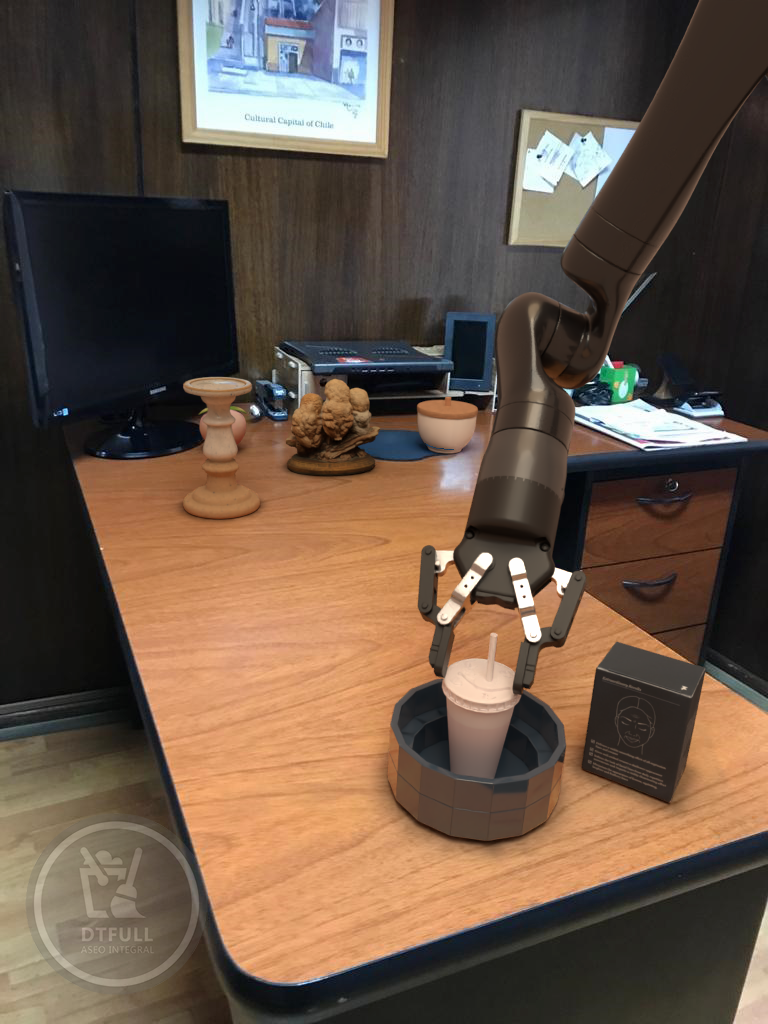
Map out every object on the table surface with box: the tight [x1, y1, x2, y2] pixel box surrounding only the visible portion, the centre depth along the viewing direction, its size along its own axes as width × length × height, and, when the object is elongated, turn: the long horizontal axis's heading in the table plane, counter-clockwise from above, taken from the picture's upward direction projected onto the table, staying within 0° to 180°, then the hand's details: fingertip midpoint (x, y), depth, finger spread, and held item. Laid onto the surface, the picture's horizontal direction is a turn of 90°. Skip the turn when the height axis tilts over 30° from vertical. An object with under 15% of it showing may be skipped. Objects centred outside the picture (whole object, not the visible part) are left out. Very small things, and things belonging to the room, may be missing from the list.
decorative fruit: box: [198, 405, 248, 445], centre depth 153 cm, size 9×8×10 cm
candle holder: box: [182, 376, 261, 520], centre depth 122 cm, size 12×12×20 cm
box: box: [581, 641, 707, 803], centre depth 67 cm, size 8×6×11 cm
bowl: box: [386, 677, 567, 842], centre depth 65 cm, size 14×14×6 cm
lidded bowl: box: [416, 396, 479, 454], centre depth 162 cm, size 13×13×11 cm
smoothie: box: [442, 632, 521, 779], centre depth 63 cm, size 6×6×14 cm
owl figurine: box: [285, 378, 381, 477], centre depth 145 cm, size 18×12×17 cm, turn 106°
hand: (478, 682), depth 60 cm, fingers closed on smoothie, 5 cm apart
